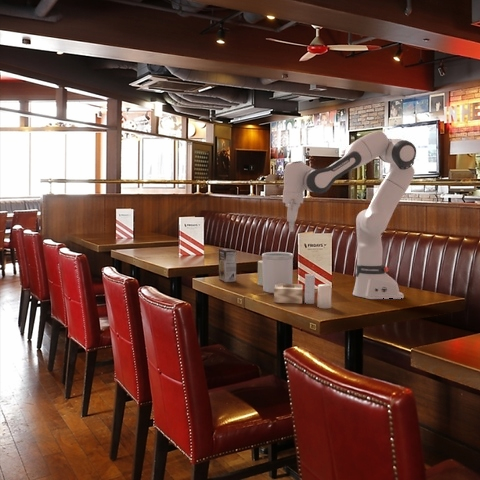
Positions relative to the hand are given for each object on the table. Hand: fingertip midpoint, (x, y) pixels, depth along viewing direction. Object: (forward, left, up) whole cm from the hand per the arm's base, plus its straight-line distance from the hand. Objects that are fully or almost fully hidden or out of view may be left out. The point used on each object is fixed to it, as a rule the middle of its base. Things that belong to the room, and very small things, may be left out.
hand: (291, 230), depth 239 cm
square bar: (-8, +7, -30) cm, 32 cm away
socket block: (+1, +3, -30) cm, 30 cm away
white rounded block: (-14, +14, -30) cm, 36 cm away
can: (+13, -32, -30) cm, 46 cm away
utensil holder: (+7, -17, -30) cm, 35 cm away
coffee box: (+34, -40, -30) cm, 60 cm away
